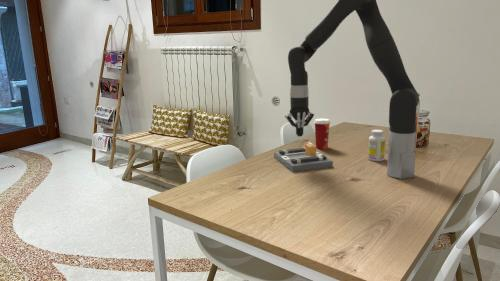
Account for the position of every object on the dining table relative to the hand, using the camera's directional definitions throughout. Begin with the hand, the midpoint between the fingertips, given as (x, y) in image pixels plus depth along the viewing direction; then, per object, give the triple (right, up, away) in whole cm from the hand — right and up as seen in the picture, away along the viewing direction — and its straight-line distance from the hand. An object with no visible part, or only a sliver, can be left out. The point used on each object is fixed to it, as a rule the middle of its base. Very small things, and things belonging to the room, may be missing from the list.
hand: (299, 136), depth 165 cm
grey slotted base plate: (+1, -11, +3) cm, 12 cm away
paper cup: (+14, -6, +24) cm, 28 cm away
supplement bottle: (+34, -10, +3) cm, 35 cm away
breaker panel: (+1, -11, +3) cm, 12 cm away
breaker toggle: (+5, -8, +4) cm, 11 cm away
